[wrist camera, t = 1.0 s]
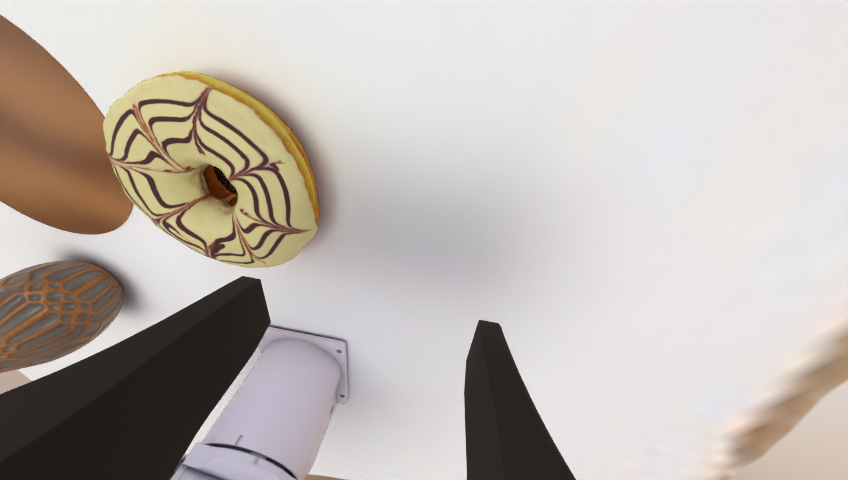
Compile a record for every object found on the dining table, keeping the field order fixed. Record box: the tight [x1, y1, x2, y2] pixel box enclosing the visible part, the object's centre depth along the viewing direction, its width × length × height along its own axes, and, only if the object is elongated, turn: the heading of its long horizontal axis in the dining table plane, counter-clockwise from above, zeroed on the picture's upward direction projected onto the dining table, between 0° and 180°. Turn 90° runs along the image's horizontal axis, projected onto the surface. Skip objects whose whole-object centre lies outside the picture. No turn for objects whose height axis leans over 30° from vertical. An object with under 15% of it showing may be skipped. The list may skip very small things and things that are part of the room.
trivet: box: [0, 15, 134, 234], centre depth 19 cm, size 15×15×1 cm
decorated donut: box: [103, 71, 319, 268], centre depth 17 cm, size 10×11×4 cm
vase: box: [0, 261, 123, 373], centre depth 22 cm, size 7×7×9 cm
